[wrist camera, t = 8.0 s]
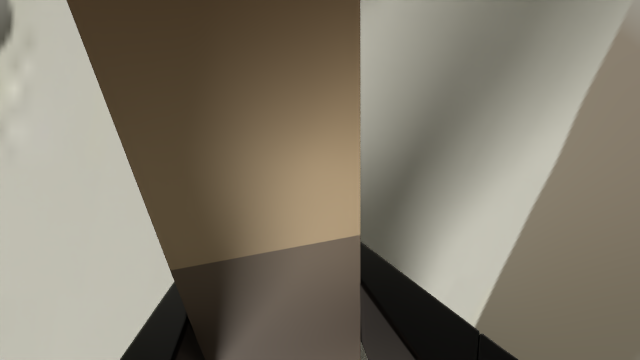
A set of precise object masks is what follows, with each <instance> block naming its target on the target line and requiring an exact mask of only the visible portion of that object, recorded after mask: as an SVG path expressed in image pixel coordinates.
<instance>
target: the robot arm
mask: <svg viewBox="0 0 640 360" xmlns="http://www.w3.org/2000/svg"><path fill="white" fill-rule="evenodd" d="M360 339H361V342H362V345H363V347H364V350H365V353H366V355H367V357H368V360H518V359H517V358H515V357H514V356H512V355H511V354H510V353H508V352H507V351H505V350H504V349H503V348H501V347H500V346H499V345H497V344H496V343H495V342H493V341H492V340H490V339H489V338H488V337H487V336H485V335H484V334H480V335H479V331H478V330H477V329H476V328H474V327H473V326H472V325H470V324H469V323H468V322H466V321H465V320H464V319H463V318H461V317H460V316H459V315H457V314H456V313H455V312H453V311H452V310H451V309H449V308H448V307H447V306H445V305H444V304H443V303H441V302H440V301H439V300H437V299H436V298H435V297H433V296H432V295H431V294H429V293H428V292H427V291H425V290H424V289H423V288H421V287H420V286H419V285H417V284H416V283H415V282H413V281H412V280H411V279H410V278H408V277H407V276H406V275H404V274H403V273H402V272H400V271H399V270H398V269H396V268H395V267H394V266H392V265H391V264H390V263H388V262H387V261H386V260H384V259H383V258H382V257H380V256H379V255H378V254H376V253H375V252H374V251H372V250H371V249H370V248H368V247H367V246H366V245H364V244H363V243H362V242H360ZM120 360H205V357H204V355H203V353H202V350H201V348H200V346H199V343H198V341H197V338H196V336H195V333H194V331H193V328H192V325H191V323H190V320H189V318H188V315H187V312H186V310H185V307H184V305H183V302H182V299H181V297H180V294H179V292H178V289H177V286H176V284H175V281H174V283H173V284H172V286H171V287H170V289H169V290H168V291H167V293H166V294H165V296H164V297H163V299H162V300H161V301H160V303H159V304H158V306H157V307H156V309H155V310H154V311H153V313H152V314H151V316H150V317H149V319H148V320H147V322H146V323H145V324H144V326H143V327H142V329H141V330H140V332H139V333H138V334H137V336H136V337H135V339H134V340H133V342H132V343H131V344H130V346H129V347H128V349H127V350H126V352H125V353H124V354H123V356H122V357H121V359H120Z"/></svg>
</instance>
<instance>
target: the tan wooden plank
mask: <svg viewBox="0 0 640 360" xmlns="http://www.w3.org/2000/svg"><path fill="white" fill-rule="evenodd" d="M67 2H68V5H69V8H70V10H71V13H72V15H73V18H74V21H75V23H76V26H77V28H78V31H79V34H80V36H81V39H82V41H83V44H84V47H85V49H86V52H87V54H88V57H89V60H90V62H91V65H92V68H93V70H94V73H95V75H96V78H97V81H98V83H99V86H100V88H101V91H102V94H103V96H104V99H105V101H106V104H107V107H108V109H109V112H110V114H111V117H112V120H113V122H114V125H115V127H116V130H117V133H118V135H119V138H120V140H121V143H122V146H123V148H124V151H125V153H126V156H127V159H128V161H129V164H130V167H131V169H132V172H133V174H134V177H135V180H136V182H137V185H138V187H139V190H140V193H141V195H142V198H143V200H144V203H145V206H146V208H147V211H148V213H149V216H150V219H151V221H152V224H153V226H154V229H155V232H156V234H157V237H158V239H159V242H160V245H161V247H162V250H163V253H164V255H165V258H166V260H167V263H168V266H169V268H170V271H171V273H172V276H173V279H174V281H175V284H176V286H177V289H178V292H179V294H180V297H181V299H182V302H183V305H184V307H185V310H186V312H187V315H188V318H189V320H190V323H191V325H192V328H193V331H194V333H195V336H196V338H197V341H198V343H199V346H200V348H201V350H202V353H203V355H204V357H205V360H360V0H67Z"/></svg>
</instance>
